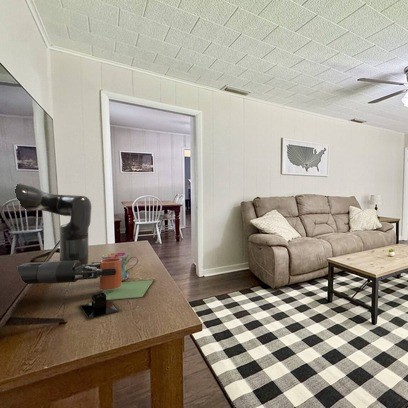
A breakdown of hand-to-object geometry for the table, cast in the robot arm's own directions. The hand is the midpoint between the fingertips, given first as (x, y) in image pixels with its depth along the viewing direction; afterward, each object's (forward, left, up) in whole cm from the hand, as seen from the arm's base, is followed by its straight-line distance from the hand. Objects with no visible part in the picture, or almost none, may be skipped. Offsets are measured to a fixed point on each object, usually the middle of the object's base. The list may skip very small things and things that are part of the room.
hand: (119, 269), depth 104 cm
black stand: (+16, -1, -9) cm, 18 cm away
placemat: (-1, +2, -8) cm, 9 cm away
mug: (-13, -3, -8) cm, 15 cm away
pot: (0, -2, -6) cm, 7 cm away
